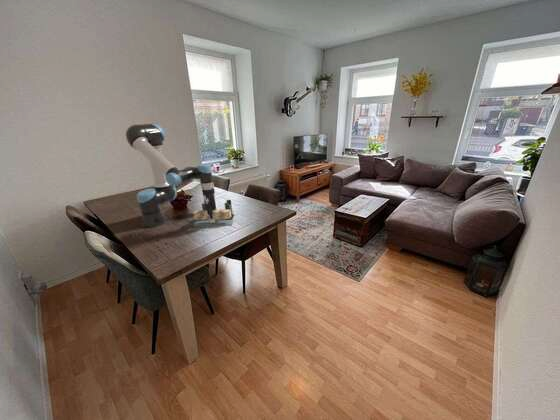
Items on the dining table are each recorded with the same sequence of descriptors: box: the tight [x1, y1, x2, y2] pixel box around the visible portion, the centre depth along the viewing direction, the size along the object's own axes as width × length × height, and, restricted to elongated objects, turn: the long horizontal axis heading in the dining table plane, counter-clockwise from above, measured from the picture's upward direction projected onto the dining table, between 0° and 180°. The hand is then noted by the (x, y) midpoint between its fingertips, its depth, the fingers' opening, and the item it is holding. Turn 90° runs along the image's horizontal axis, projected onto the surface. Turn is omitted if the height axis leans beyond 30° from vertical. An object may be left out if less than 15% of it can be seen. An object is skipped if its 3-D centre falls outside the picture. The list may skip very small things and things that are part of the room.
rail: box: [193, 209, 231, 221], centre depth 150 cm, size 24×4×5 cm, turn 89°
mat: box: [193, 219, 234, 227], centre depth 152 cm, size 26×7×1 cm, turn 89°
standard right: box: [224, 199, 235, 220], centre depth 158 cm, size 5×7×12 cm
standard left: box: [201, 201, 210, 221], centre depth 158 cm, size 5×7×12 cm
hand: (213, 221), depth 152 cm, fingers closed on rail, 4 cm apart
